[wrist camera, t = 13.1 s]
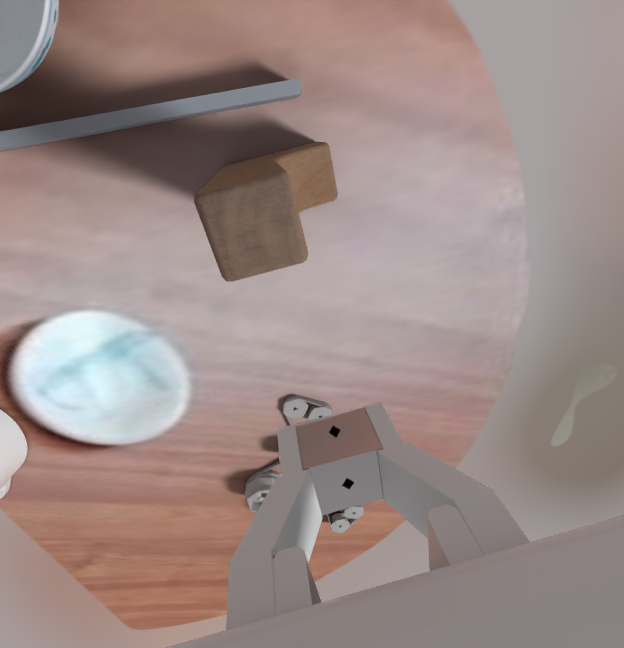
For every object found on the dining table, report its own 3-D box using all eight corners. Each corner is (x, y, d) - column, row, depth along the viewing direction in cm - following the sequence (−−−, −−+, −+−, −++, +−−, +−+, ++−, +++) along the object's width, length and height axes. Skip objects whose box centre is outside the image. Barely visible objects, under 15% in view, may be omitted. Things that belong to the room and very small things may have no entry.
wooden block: (319, 140, 32) (386, 142, 16) (329, 192, 34) (396, 240, 18) (221, 166, 31) (189, 194, 16) (237, 216, 34) (224, 286, 18)
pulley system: (276, 536, 58) (366, 513, 58) (276, 566, 54) (373, 542, 53) (211, 411, 46) (323, 379, 45) (204, 437, 42) (328, 403, 41)
